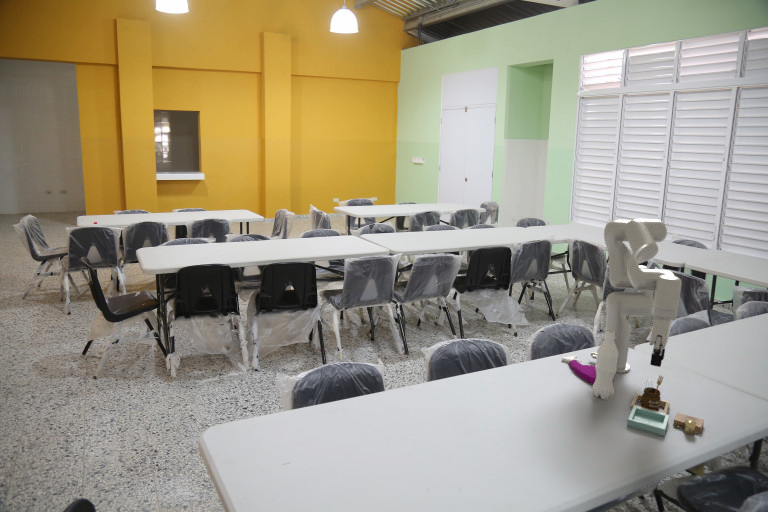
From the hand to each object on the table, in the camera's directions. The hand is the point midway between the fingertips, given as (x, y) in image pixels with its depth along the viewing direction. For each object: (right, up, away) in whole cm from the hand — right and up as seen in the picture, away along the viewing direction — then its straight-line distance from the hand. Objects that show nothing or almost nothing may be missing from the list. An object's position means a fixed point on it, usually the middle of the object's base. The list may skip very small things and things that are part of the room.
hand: (656, 361), depth 197 cm
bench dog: (+5, -21, -11) cm, 24 cm away
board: (+7, -20, -6) cm, 22 cm away
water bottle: (-14, -15, +12) cm, 24 cm away
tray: (-6, -19, -6) cm, 21 cm away
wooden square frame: (-1, -17, +4) cm, 18 cm away
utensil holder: (-1, -17, +4) cm, 18 cm away
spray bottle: (-13, -10, +33) cm, 37 cm away
